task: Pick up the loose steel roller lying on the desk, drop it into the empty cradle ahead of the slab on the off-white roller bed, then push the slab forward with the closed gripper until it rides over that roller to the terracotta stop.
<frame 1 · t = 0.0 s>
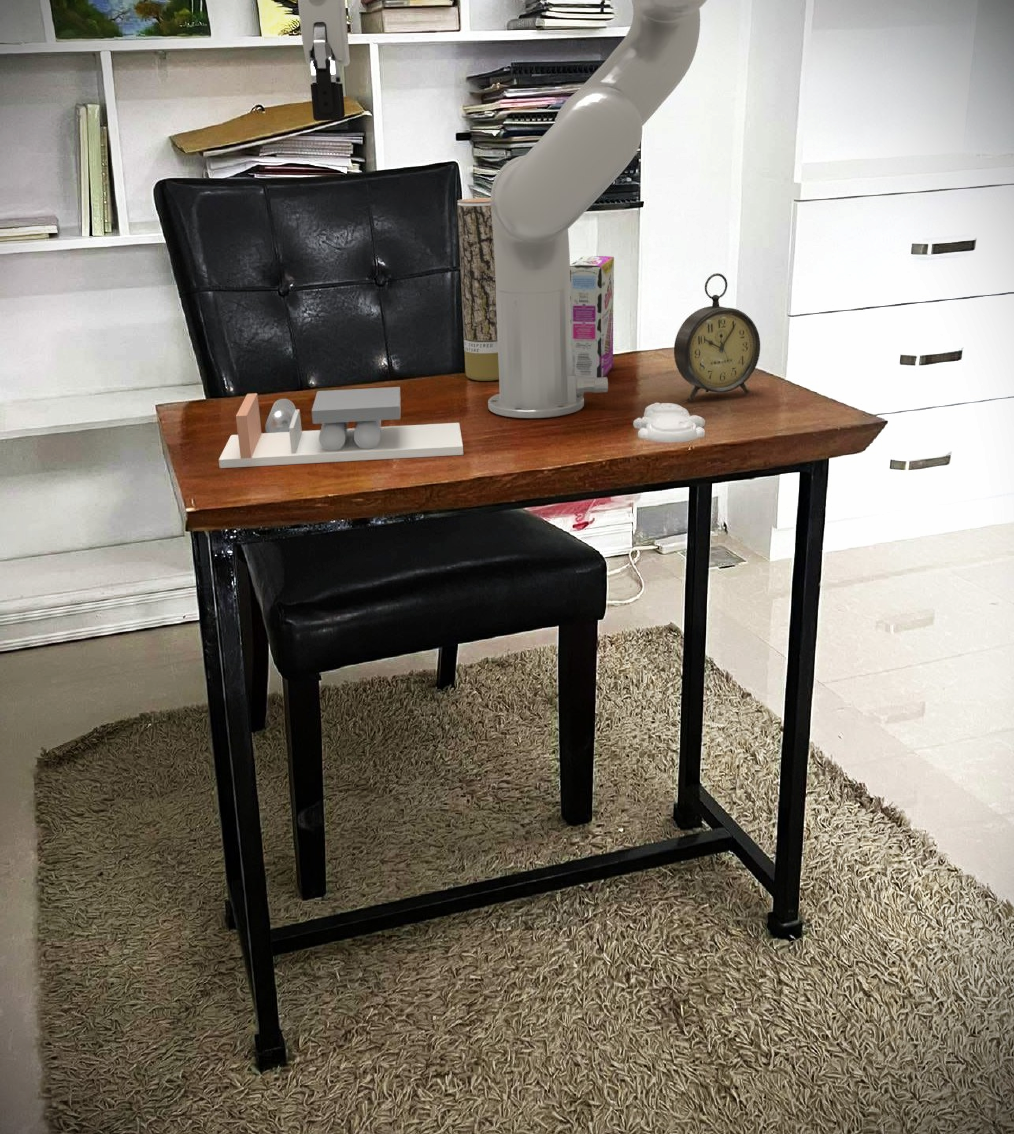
hand: (329, 119, 151), 37 cm above the table, tool pointing down, fingers open, 9 cm apart
paper tube: (488, 378, 184), on the table
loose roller: (281, 429, 160), on the table
alarm clock: (714, 398, 168), on the table
roller bed: (344, 448, 150), on the table
slab: (357, 404, 148), point 5 cm above the table, slide at 0.0 cm
candy bar box: (592, 376, 183), on the table
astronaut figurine: (669, 433, 153), on the table
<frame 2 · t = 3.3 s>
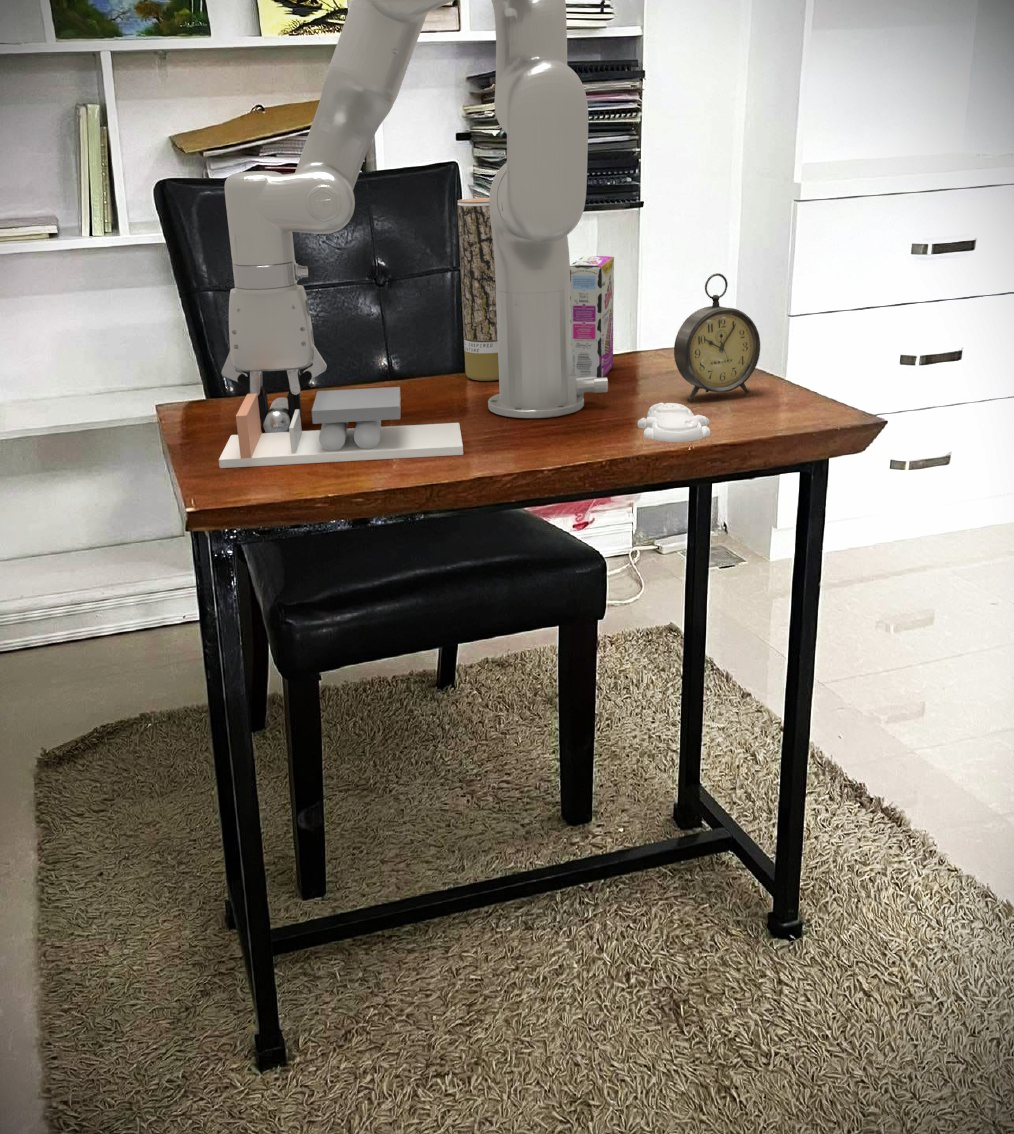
hand: (279, 422, 160), 1 cm above the table, tool pointing down, fingers closed on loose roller, 3 cm apart
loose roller: (279, 428, 160), on the table, touching gripper
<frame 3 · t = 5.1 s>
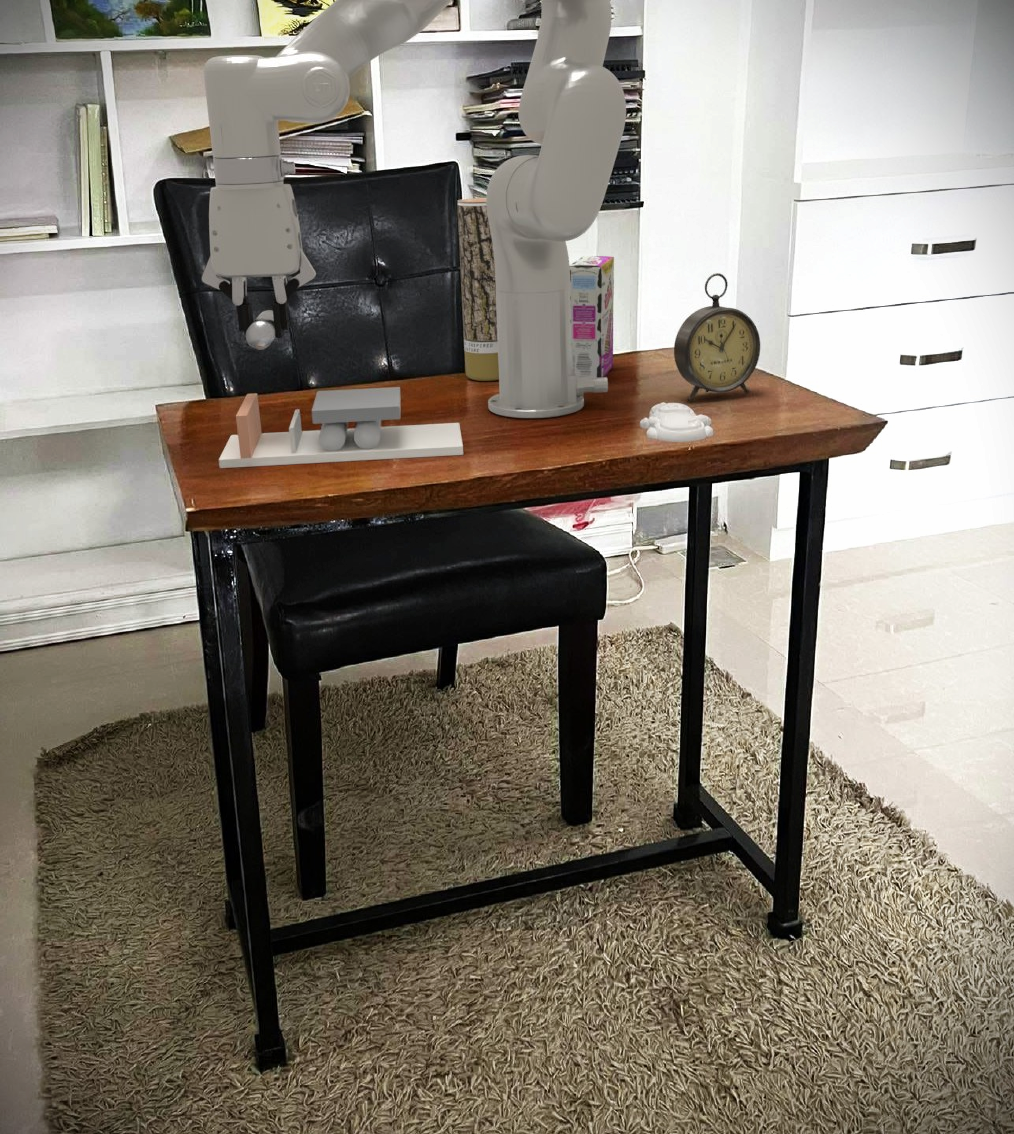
hand: (264, 335, 148), 13 cm above the table, tool pointing down, fingers closed on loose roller, 3 cm apart
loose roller: (265, 342, 148), point 13 cm above the table, touching gripper
when the fingers open (6 cm above the table, at t = 6.9 s): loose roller drops 4 cm, resting on roller bed.
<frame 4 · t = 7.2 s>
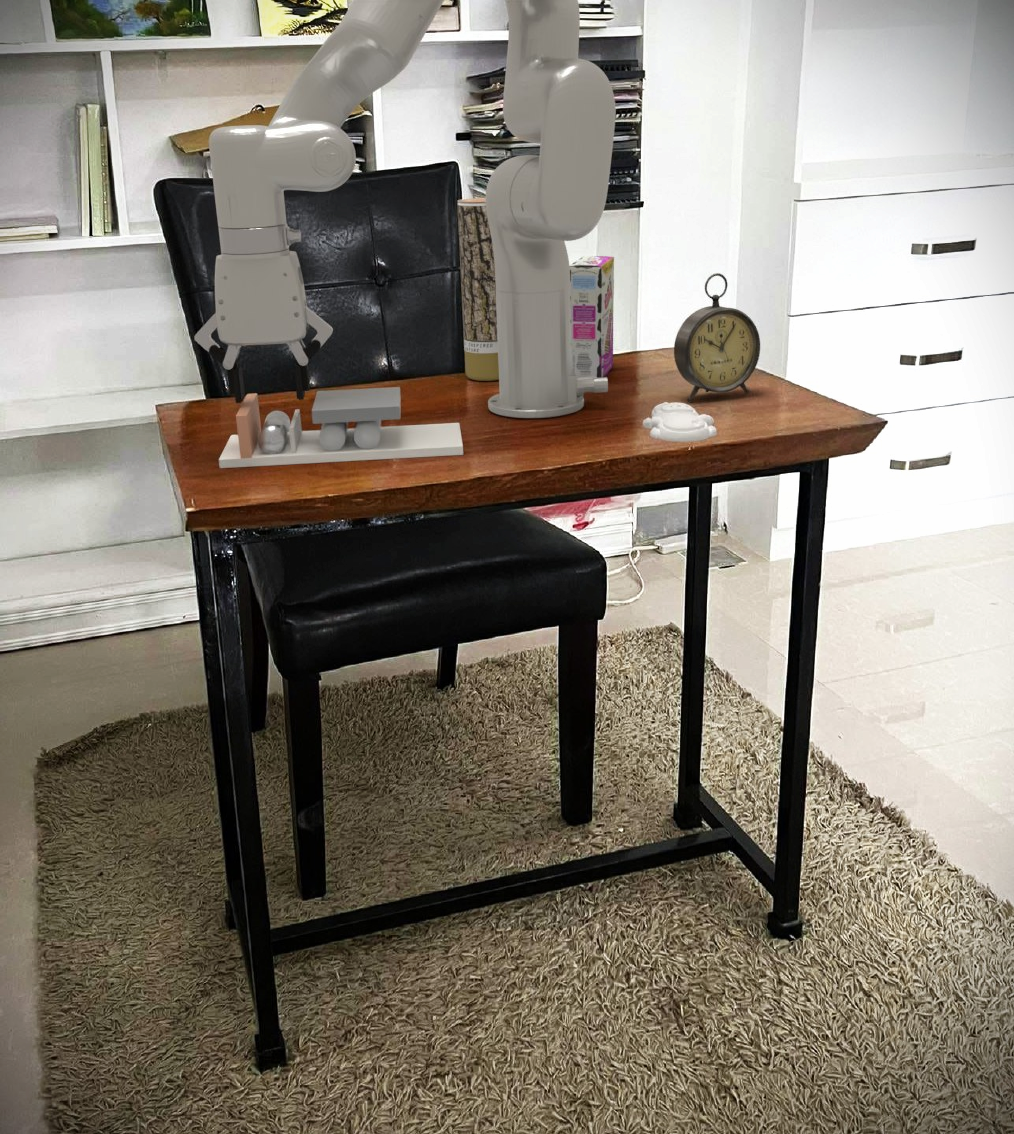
hand: (270, 397, 147), 7 cm above the table, tool pointing down, fingers open, 6 cm apart
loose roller: (275, 444, 149), point 1 cm above the table, touching roller bed
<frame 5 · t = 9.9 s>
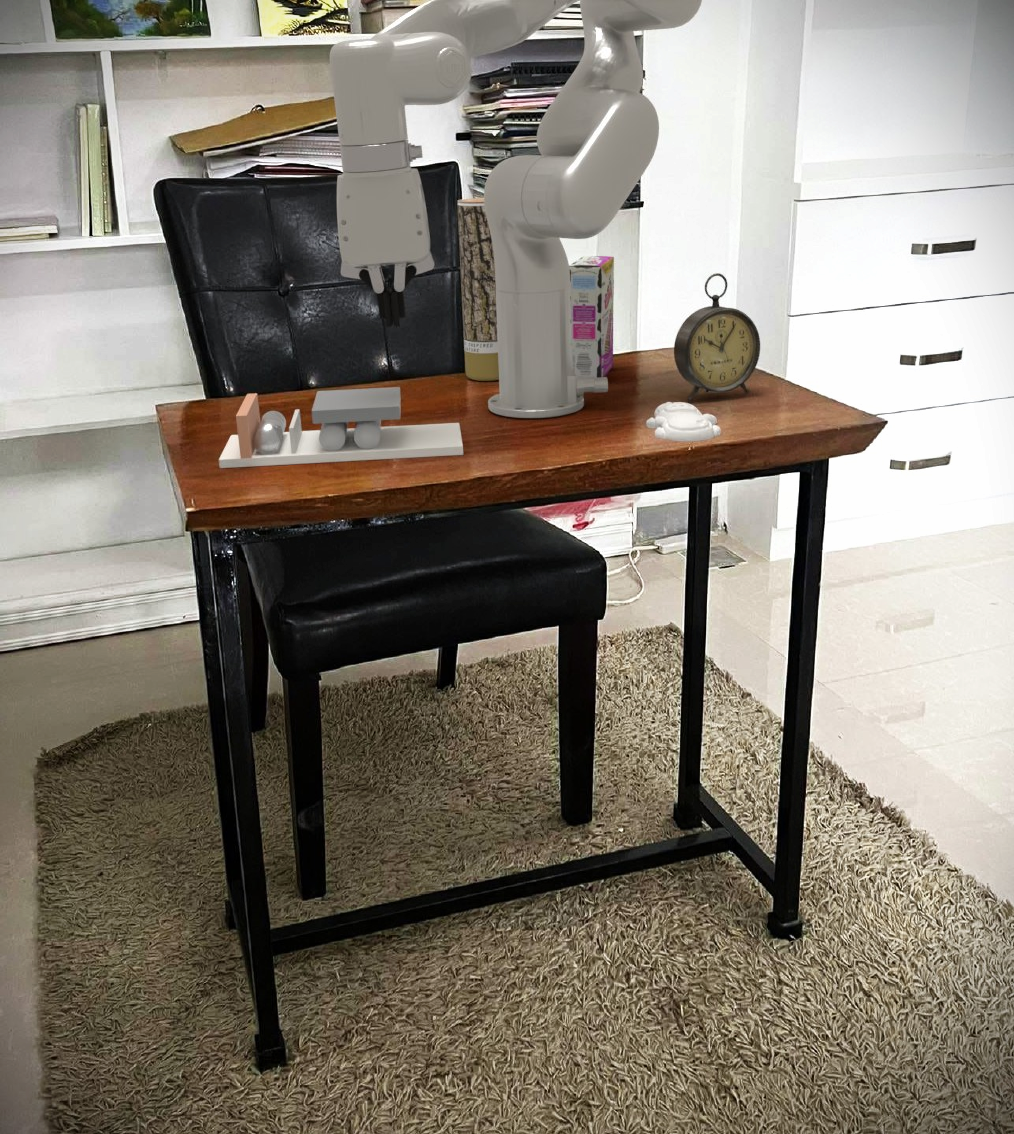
hand: (393, 324, 146), 14 cm above the table, tool pointing down, fingers closed
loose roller: (275, 443, 149), point 1 cm above the table, tilted 17°, touching roller bed
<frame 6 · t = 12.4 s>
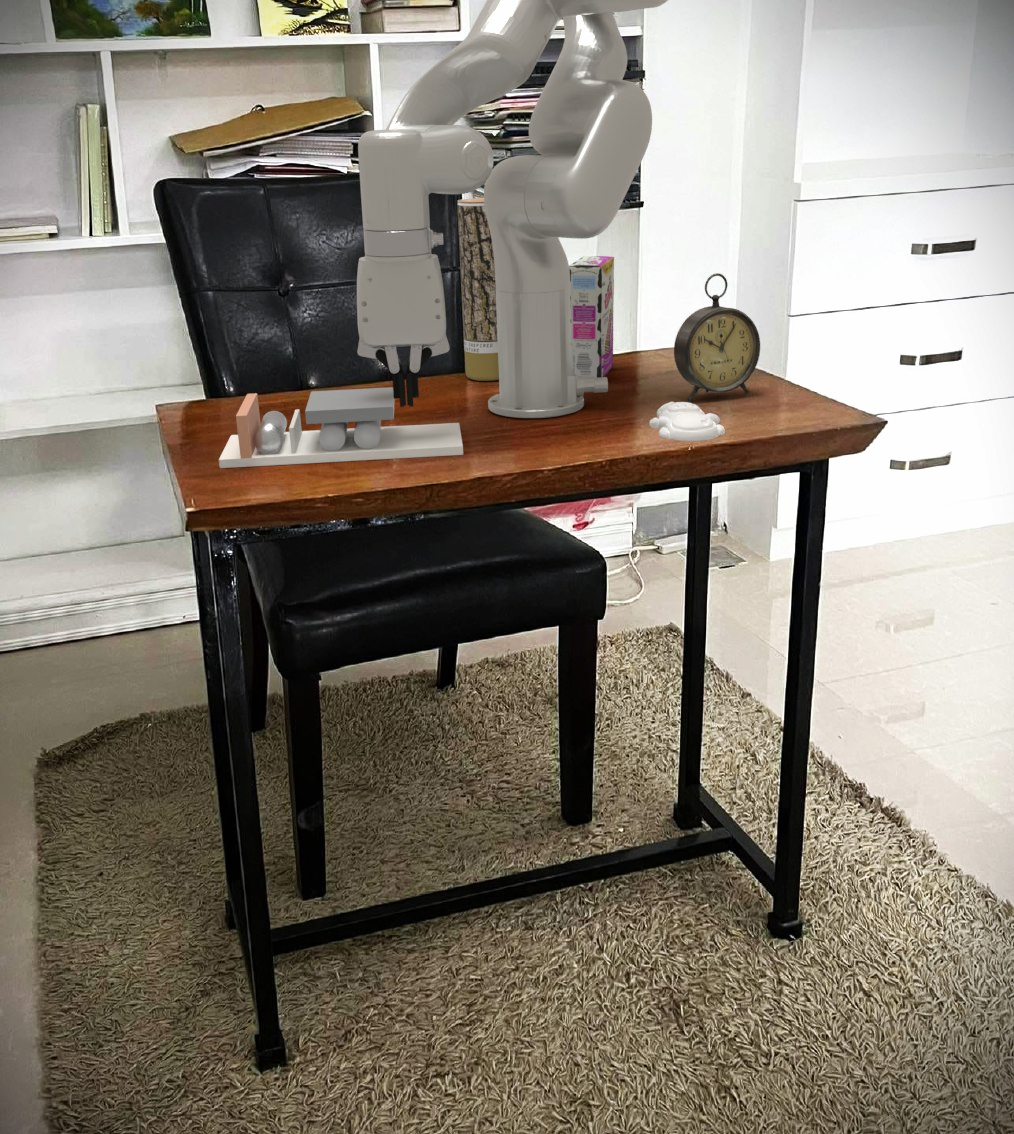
hand: (406, 403, 148), 5 cm above the table, tool pointing down, fingers closed
slab: (351, 405, 148), point 5 cm above the table, slide at 0.8 cm, touching gripper
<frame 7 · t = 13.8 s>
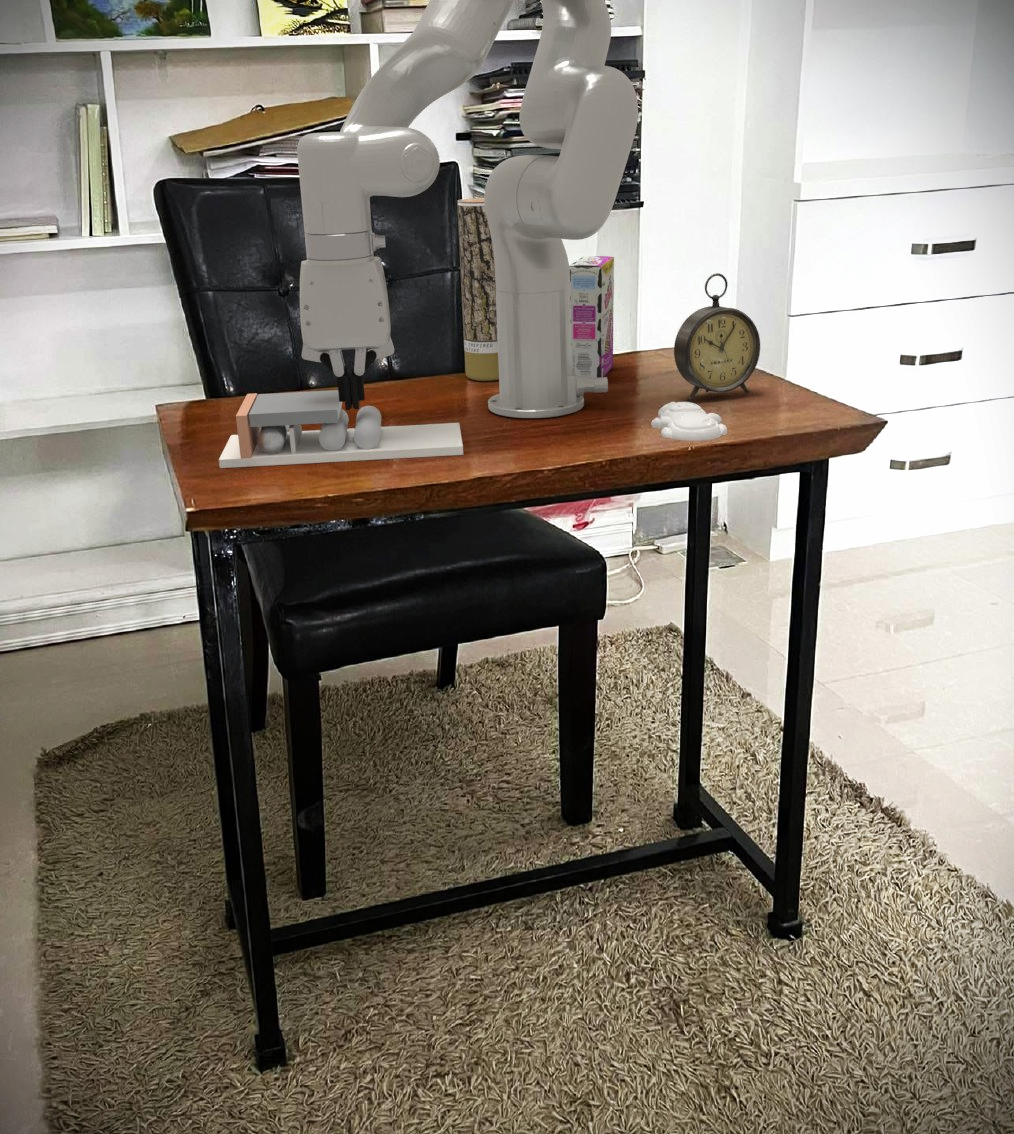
hand: (352, 406, 148), 5 cm above the table, tool pointing down, fingers closed
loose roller: (275, 444, 149), point 1 cm above the table, touching roller bed
slab: (297, 408, 148), point 5 cm above the table, slide at 7.1 cm, touching gripper
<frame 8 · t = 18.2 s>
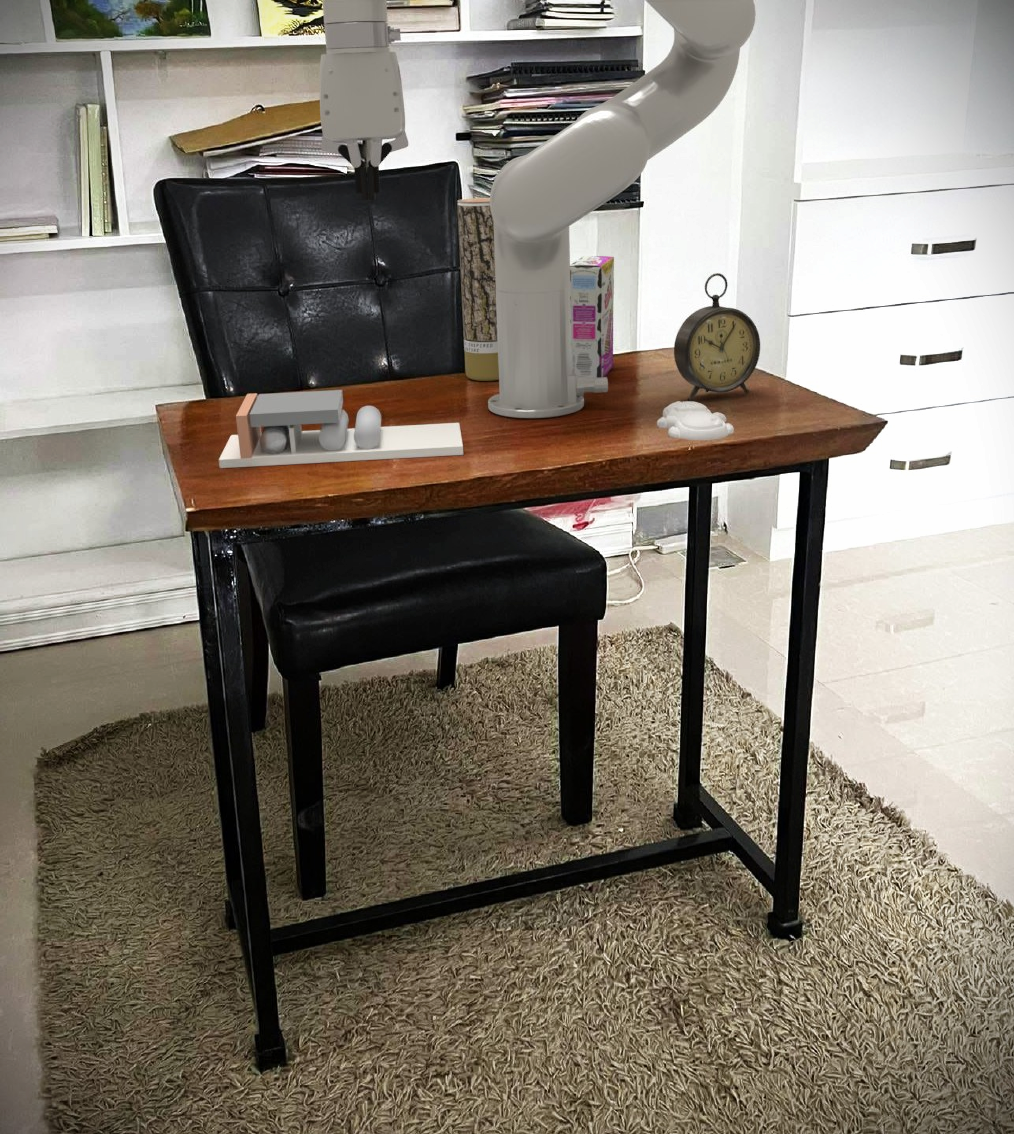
hand: (368, 199, 156), 27 cm above the table, tool pointing down, fingers closed
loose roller: (275, 444, 149), point 1 cm above the table, tilted 10°, touching roller bed
slab: (297, 407, 148), point 5 cm above the table, slide at 7.0 cm
at the end: slab slide at 7.0 cm; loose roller 0.1 cm from the target spot on the roller bed, point 1.0 cm above the roller bed's base; the gripper is holding nothing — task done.
